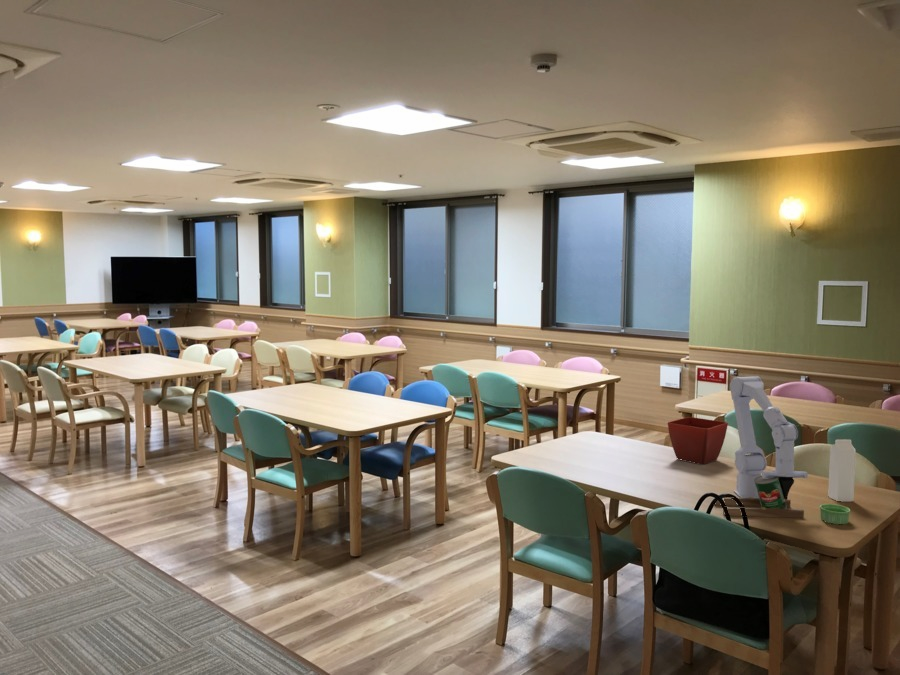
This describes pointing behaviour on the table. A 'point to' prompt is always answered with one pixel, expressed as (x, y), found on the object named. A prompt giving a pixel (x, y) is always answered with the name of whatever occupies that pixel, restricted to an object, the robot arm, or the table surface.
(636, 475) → the table surface
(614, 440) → the table surface
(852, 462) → the milk
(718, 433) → the plant pot
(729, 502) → the beam channel
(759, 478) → the canned tomato
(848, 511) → the ramekin
